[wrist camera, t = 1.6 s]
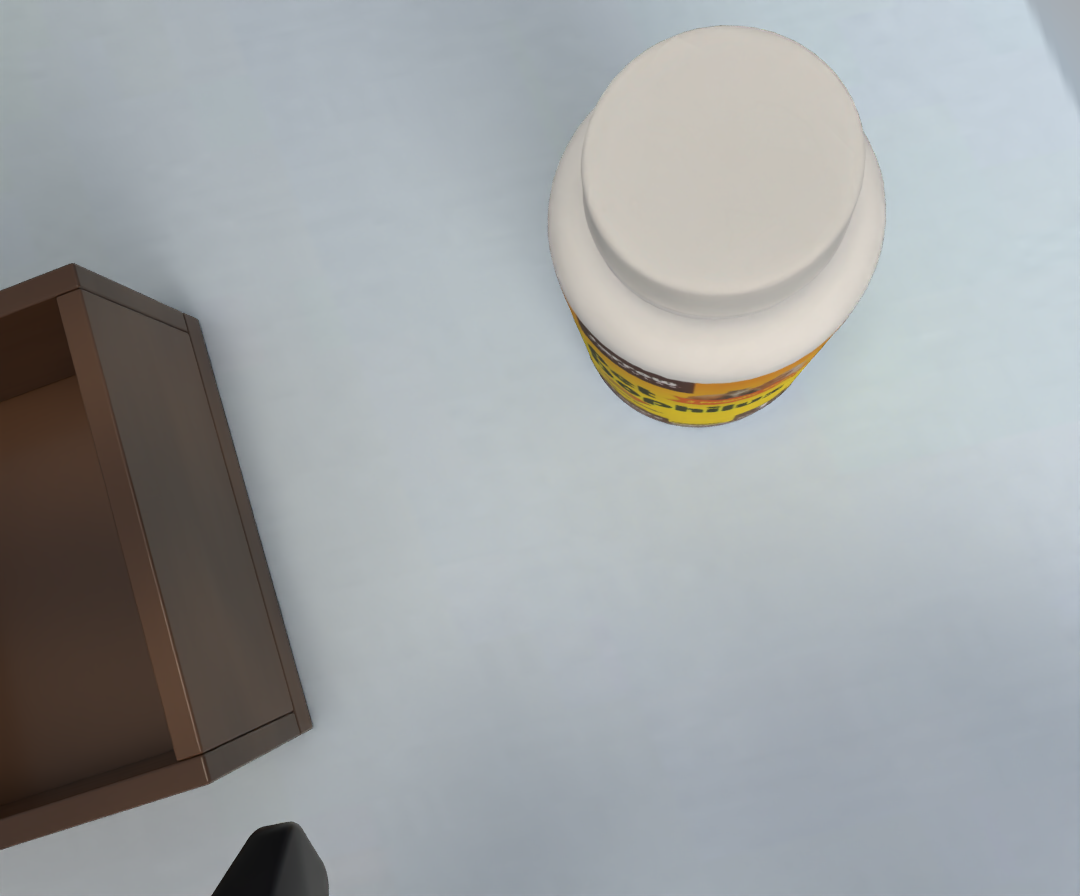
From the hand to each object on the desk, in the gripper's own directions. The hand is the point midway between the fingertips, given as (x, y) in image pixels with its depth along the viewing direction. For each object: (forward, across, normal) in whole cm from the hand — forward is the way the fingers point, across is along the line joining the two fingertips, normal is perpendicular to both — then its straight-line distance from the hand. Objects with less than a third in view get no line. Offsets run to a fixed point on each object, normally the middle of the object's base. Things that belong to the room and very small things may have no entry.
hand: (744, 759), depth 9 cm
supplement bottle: (+15, -2, +3) cm, 16 cm away
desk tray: (+14, +16, +6) cm, 21 cm away
